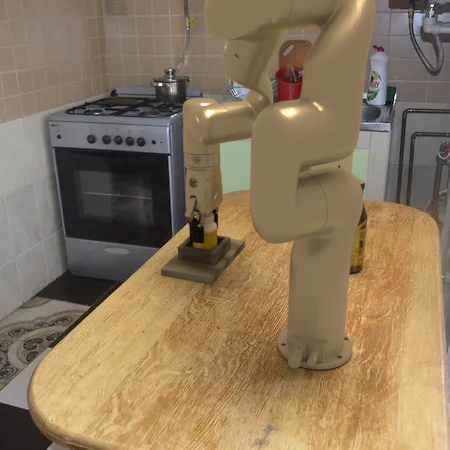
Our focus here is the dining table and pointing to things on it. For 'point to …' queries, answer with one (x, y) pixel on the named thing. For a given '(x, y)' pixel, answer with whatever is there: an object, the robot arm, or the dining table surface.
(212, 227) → the supplement bottle
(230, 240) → the collar board
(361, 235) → the sauce bottle
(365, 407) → the dining table surface
